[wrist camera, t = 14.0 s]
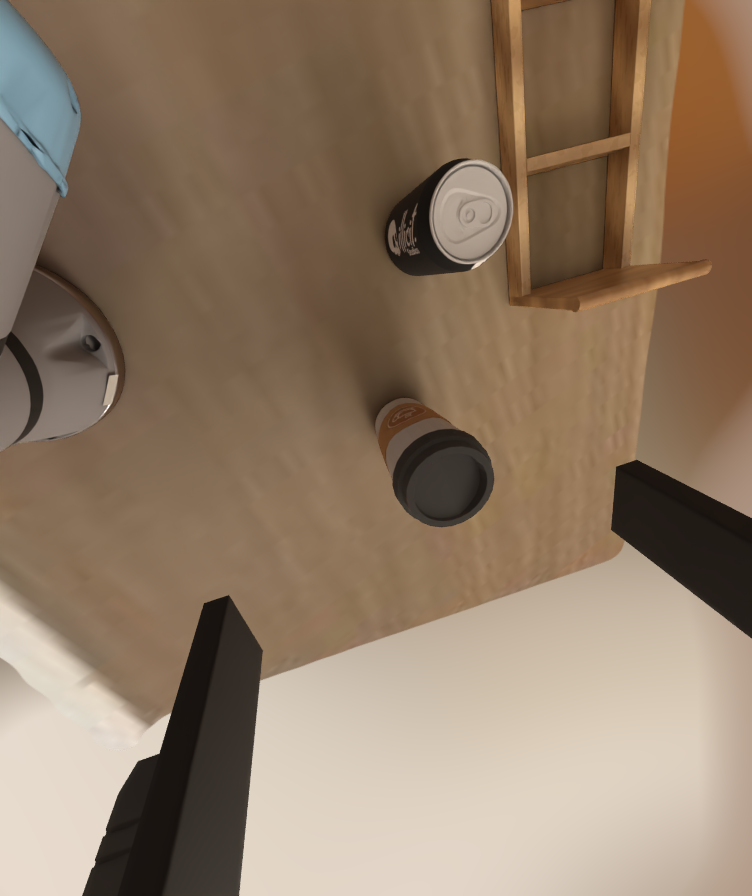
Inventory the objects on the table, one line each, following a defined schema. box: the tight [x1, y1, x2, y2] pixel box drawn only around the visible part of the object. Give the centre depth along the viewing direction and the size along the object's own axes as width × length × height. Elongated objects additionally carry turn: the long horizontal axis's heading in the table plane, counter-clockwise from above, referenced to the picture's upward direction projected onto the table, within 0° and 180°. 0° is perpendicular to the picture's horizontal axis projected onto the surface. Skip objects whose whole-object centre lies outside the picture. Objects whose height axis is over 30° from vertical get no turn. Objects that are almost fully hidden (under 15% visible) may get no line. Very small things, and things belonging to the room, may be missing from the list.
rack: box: [491, 0, 712, 312], centre depth 29 cm, size 23×12×11 cm, turn 14°
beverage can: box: [385, 159, 513, 276], centre depth 28 cm, size 7×7×12 cm
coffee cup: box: [375, 398, 494, 527], centre depth 34 cm, size 8×8×15 cm
